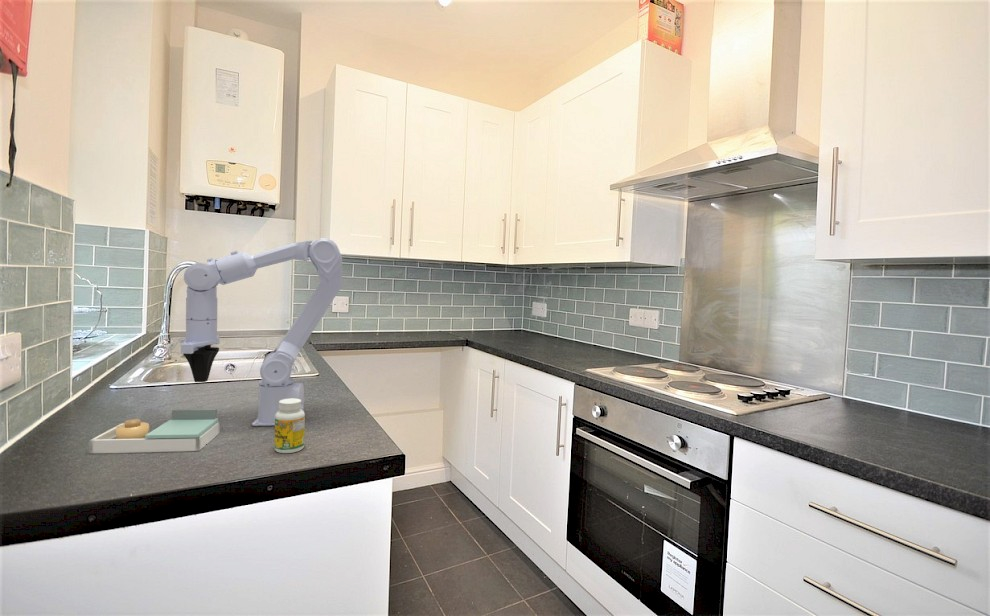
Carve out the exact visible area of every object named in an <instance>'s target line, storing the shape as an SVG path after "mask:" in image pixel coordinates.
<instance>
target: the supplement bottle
mask: <svg viewBox="0 0 990 616" xmlns="http://www.w3.org/2000/svg"><path fill="white" fill-rule="evenodd" d="M300 408H301V400H300V399H296V398H290V399H283V400H280V401H279V409H280V411H278V412H277V413H276V415H275V425H274V451H275V452H277V453H280V454H293V453H297V452H299V451H302V450H303V449H304V448H305V441H306V440H305V437H306V436H305V435H306V434H305V432H306V430H305V429H306V427H305V425H306V413H305V410H304V411H303V410H301V409H300Z"/></svg>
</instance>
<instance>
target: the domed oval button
mask: <svg viewBox="0 0 990 616" xmlns="http://www.w3.org/2000/svg"><path fill="white" fill-rule="evenodd" d="M124 423H125V424H123V425H120V424H119V425H120V426H118V425H116V426H117V427H116V426H115V427H116V439H144V438H145V435H146V434H148V433H150V424H149V423H148V422H144V421H141V419H140V418H133V419H132V418H131V419H128V420H127V419H126V420H125V421H124Z"/></svg>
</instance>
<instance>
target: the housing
mask: <svg viewBox="0 0 990 616" xmlns="http://www.w3.org/2000/svg"><path fill="white" fill-rule="evenodd" d="M123 424H125V422H124V423H122V422H121V423H120V424H118V425H116V426H114V427H112V428H110V429H108V430H106V431H105V432H103V433H101V434H99V435H97V436H95V437H93V438H92V439H89V441H88V454H121V453H122V454H125V453H126V454H128V453H129V454H130V453H164V452H166V453H167V452H170V453H171V452H173V453H174V452H175V453H176V452H200V451H201V450H203V448H204V447H206V446H207V445H208V444H209V443H210V442H211V441H212V440H213V439H215V438H216V437H218V436H219V434H220V428H221V427H220V426H221V425H220V424H221V422H220V421H218V422H217V423H215V424H214V425H213V426H212V427H210V428H209V429H208V430H207V431H205V432H204V433H203V434H202V435H200V436H199V437H198V438H148V439H145V438H144V439H116V427H117V426H120V425H123ZM206 444H207V445H206Z"/></svg>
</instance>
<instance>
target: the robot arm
mask: <svg viewBox="0 0 990 616" xmlns="http://www.w3.org/2000/svg"><path fill="white" fill-rule="evenodd" d="M308 258H309V260H310V261H311V262H312V265H313V266H314V267H315V268H316V271H317V272H316V273H317V275H318V279H319V283H318V285H317V287H316V288H315V290H314V291H313V293H312V294H311V296H310V297H309V299H308V301H307V302H306V303H305V306H303V308H302V309H301V311H300V312H299V314H298V315H297V317H296V319H295V320H294V322H293V323H292V325H291V326H290V328H289V329H288V331H287V332H286V333H285V335H284V337H283V338H282V339H281V340H280V342H279V343H278V344H277V347H276V348H275V349H274V350H272V351H271V352H270V353H268V354H267V355H266V356H265V357H264V358H263V360H262V364H261V366H260V368H259V369H260V370H259V374H260V378H261V379H260V380H258V404H257V405H258V407H257V410H258V411H257V412H258V415H257V418H256V419H255V420H254V421H253V422H252V423H251V426H253V427H254V426H255V427H256V426H257V427H258V426H261V427H262V426H265V427H266V426H270V427H271V426H275V415H276V413H277V412H278V411H280V409H279V401H280V400H283V399H290V398H296V399H300V400H301V408H300V409H301V410H303V411H304V412H305V410H304V408H305V405H304V404H305V403H304V401H305V387H304V383H302V382H301V383H300V382H294V378H293V377H291V375H292V367H293V365H294V362H295V361H296V360H297V358H298V356H299V354H300V352H301V350H302V349H303V347H304V345H305V344H306V342H307V341H308V339H309V338H310V336H311V334H312V333H313V332H314V330H315V329H316V327H317V326H318V324H319V322H320V321H321V319H322V318H323V316H324V314H325V313H326V311H327V310H328V308H329V307H330V305H331V304H332V303H333V301H334V299H335V298H336V296H337V295H338V293H339V292H340V291H341V289H342V286H343V257H342V254H341V252H340V249H339V247H338V245H337V244H336V243H335V242H334V240H331V239H330V238H327V237H321V238H317V239H315V240H314V241H313V239H311V240H303V241H296V242H292V243H290V244H285V245H282V246H278V247H275V248H272V249H269V250H266V251H263V252H260V253H257V254H253V255H252V254H249V253H248V252H245V251H240V252H239V251H238V250H234V251H230V255H226V256H222V257H218V258H213V257H210V258H207V259H206V261H207V263H204V262H195V263H194V264H192V265H190V266H188V267H187V268H186V269H185V270H184V273H183V280H184V283H185V285H186V298H185V338H180V339H179V343H181V344H180V354H182V355H183V356H184V357H185V359H186V361H187V362H188V365H189V368H190V370H191V374H192V376H193V380H194V382H195V383H205V382H208V380H209V377H210V374H211V369H212V366H213V363H214V361H215V358H216V356H217V355H218V353H219V351H220V347H215V346H214V345H218V344H220V335H219V334H218V297H217V290H218V289H217V288H218V287H217V286H218V285H219V284H220V285H222V286H225V285H228V284H231V283H235V282H238V281H241V280H245V279H248V278H252V277H254V276H255V274H256V273H257V271H258V270H259V269H262V268H264V267H265V268H266V267H269V266H272V265H276V264H281V263H284V262H288V261H292V260H297V261H302V262H308ZM212 345H213V346H212Z"/></svg>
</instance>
